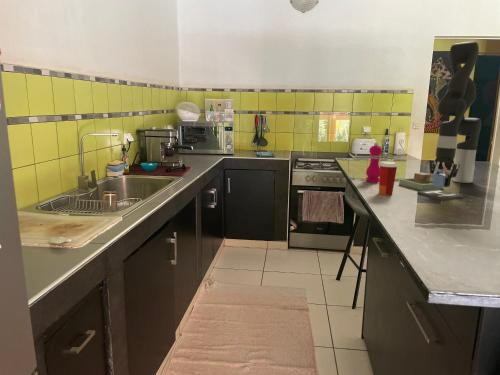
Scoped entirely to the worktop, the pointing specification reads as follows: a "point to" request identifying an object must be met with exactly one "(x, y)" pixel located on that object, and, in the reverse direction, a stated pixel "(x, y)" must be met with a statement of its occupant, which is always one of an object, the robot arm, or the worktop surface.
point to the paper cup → (387, 177)
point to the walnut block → (422, 178)
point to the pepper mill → (374, 164)
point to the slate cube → (439, 180)
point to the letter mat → (440, 194)
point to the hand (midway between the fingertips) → (441, 185)
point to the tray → (418, 185)
